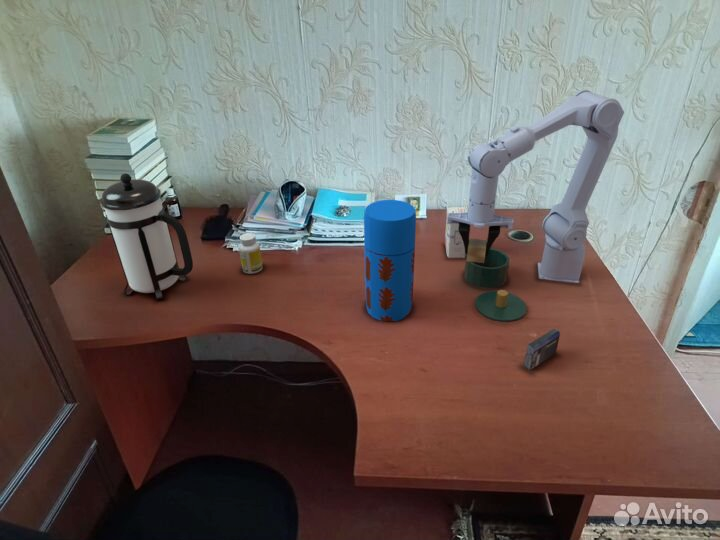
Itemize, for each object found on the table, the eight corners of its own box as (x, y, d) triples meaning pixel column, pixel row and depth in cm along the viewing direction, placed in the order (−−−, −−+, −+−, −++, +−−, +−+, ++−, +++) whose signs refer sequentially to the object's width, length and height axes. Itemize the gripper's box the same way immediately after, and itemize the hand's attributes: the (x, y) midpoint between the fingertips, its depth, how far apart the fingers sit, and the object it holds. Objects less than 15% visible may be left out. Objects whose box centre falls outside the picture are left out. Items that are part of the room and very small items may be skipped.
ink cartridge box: (443, 244, 141) (447, 196, 133) (461, 244, 141) (465, 196, 133) (447, 259, 134) (450, 209, 126) (465, 259, 133) (470, 209, 126)
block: (485, 254, 119) (486, 240, 117) (484, 263, 115) (486, 248, 113) (468, 253, 120) (469, 238, 117) (466, 261, 116) (468, 246, 114)
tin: (506, 270, 128) (509, 250, 125) (505, 292, 120) (509, 271, 117) (465, 265, 131) (467, 245, 128) (462, 286, 122) (464, 266, 119)
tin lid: (525, 298, 117) (528, 282, 115) (526, 327, 108) (529, 310, 106) (476, 292, 120) (478, 276, 118) (473, 320, 111) (475, 303, 108)
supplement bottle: (265, 264, 134) (260, 231, 129) (259, 274, 129) (254, 241, 124) (245, 263, 134) (240, 231, 129) (239, 274, 130) (233, 241, 125)
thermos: (409, 324, 110) (413, 223, 97) (361, 319, 112) (359, 219, 99) (414, 297, 119) (418, 200, 106) (370, 292, 121) (369, 197, 108)
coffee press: (125, 311, 116) (85, 192, 101) (125, 278, 129) (89, 168, 113) (200, 294, 122) (173, 179, 106) (193, 264, 134) (168, 157, 119)
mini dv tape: (529, 372, 96) (534, 348, 93) (523, 368, 97) (527, 344, 94) (555, 355, 100) (560, 331, 97) (548, 351, 101) (554, 328, 98)
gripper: (447, 204, 108) (443, 257, 115) (516, 209, 105) (508, 264, 112) (450, 191, 114) (446, 243, 121) (516, 196, 110) (508, 249, 118)
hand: (476, 252), depth 117 cm, fingers closed on block, 4 cm apart
